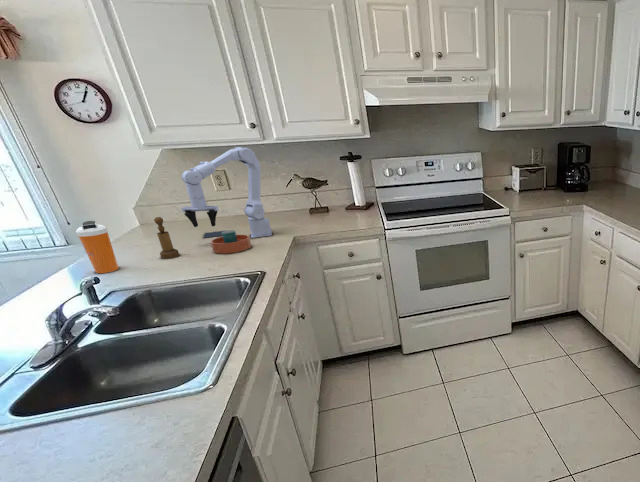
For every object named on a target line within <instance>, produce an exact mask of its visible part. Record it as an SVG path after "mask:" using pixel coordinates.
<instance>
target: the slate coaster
mask: <svg viewBox="0 0 640 482" xmlns="http://www.w3.org/2000/svg"><path fill="white" fill-rule="evenodd" d="M224 231H225V230H219V231H210V232H205V233H204V235H203V239H209V238H219V237H223V236H222V232H224Z"/></svg>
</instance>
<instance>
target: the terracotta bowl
mask: <svg viewBox="0 0 640 482" xmlns="http://www.w3.org/2000/svg"><path fill="white" fill-rule="evenodd" d="M236 236H237V240H238V242H233V243H224V240H223V236H219V237H215V238H212V240H210V246H211V248H212V253H213V252H214V253H216V254H234V253H239V252H243V251H246V250H249V249H250V248H252V243H251V239H250V238H251V237H250V235H248V234H236Z"/></svg>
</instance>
